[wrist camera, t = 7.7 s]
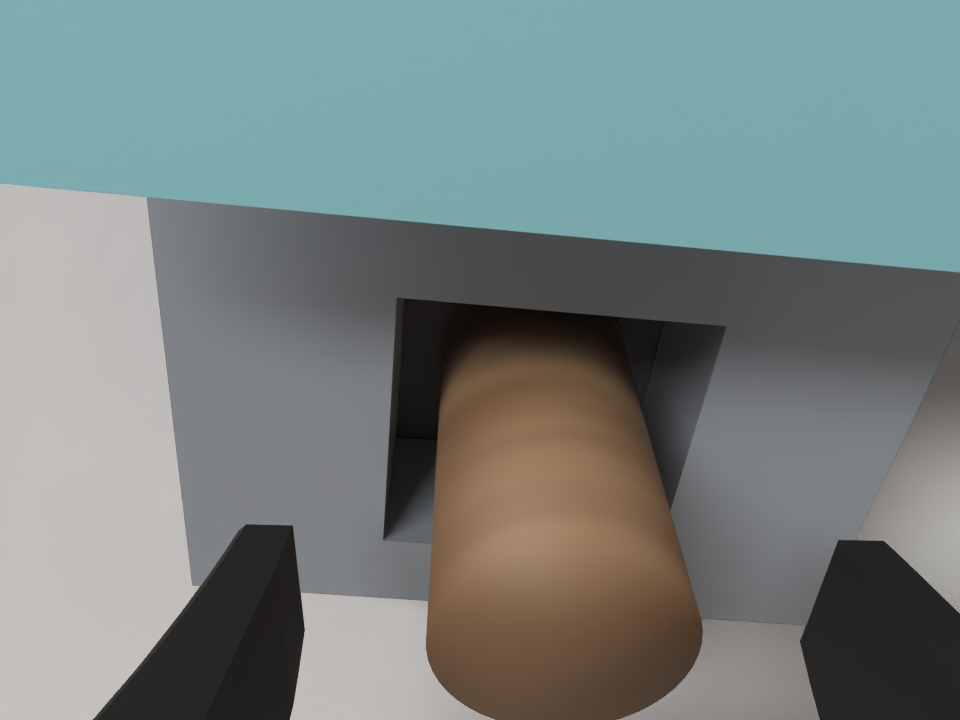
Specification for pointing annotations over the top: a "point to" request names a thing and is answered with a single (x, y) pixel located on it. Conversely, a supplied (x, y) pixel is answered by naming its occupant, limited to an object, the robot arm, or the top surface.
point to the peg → (551, 526)
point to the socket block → (539, 286)
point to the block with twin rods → (511, 115)
